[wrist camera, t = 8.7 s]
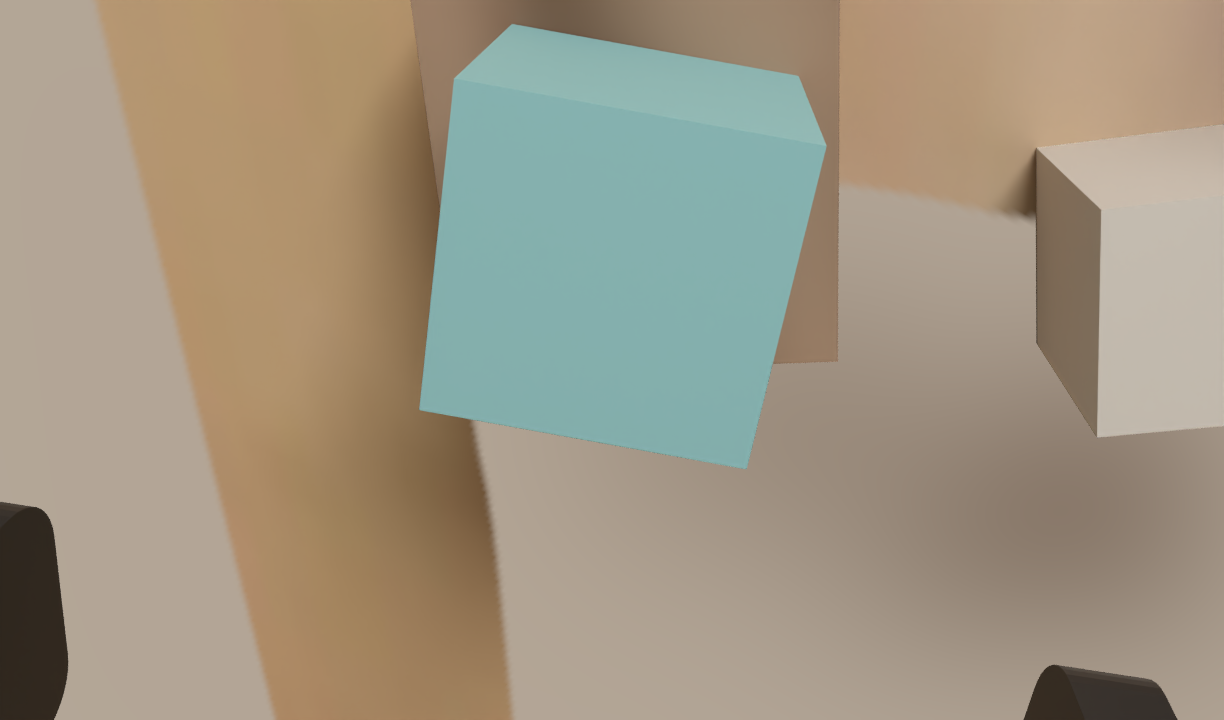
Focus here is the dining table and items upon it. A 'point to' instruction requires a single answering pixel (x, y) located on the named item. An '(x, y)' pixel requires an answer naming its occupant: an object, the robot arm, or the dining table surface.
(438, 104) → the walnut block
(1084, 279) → the grey cube
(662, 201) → the teal cube
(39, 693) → the robot arm
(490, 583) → the dining table surface
